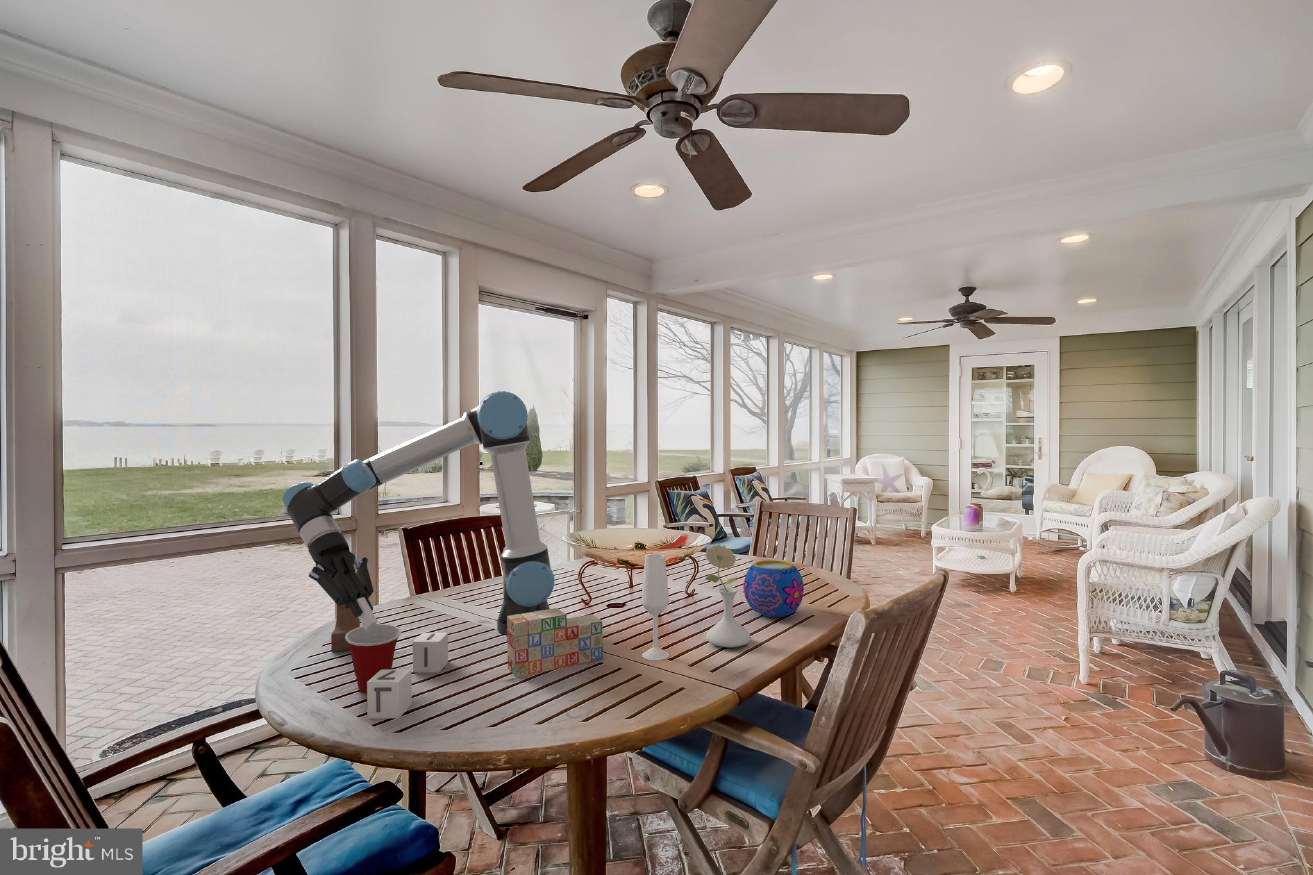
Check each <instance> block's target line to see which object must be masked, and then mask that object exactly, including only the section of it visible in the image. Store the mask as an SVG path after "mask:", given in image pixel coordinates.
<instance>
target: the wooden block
mask: <svg viewBox="0 0 1313 875" xmlns="http://www.w3.org/2000/svg"><path fill="white" fill-rule="evenodd" d="M355 573H356V575H357V576H358V574H357V570H355ZM345 606H346V605H342V606H338V605H337V604H336V619H335V620H336V622H335V625H334V629H333V631H332V633H331V636H330V640H331V641H330V642H331V643H330V645H331V648H330V650H331V652H342V651H343V652H345V651H350V648H349V645H348V642H347V641H346V639H345V637H346V634H347V633H348V632H350V631H351V630H354V629H356V628H358V627H361V621H360V620H359V618H358V617H355V616H354V615H353V613H352V611H351V609H350V608H349V609H347V608H345Z"/></svg>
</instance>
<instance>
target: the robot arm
mask: <svg viewBox="0 0 1313 875" xmlns="http://www.w3.org/2000/svg"><path fill="white" fill-rule="evenodd" d="M528 416H529V414H528V410H527V406H526V404H525V403H524V401H523V400H522V398H520V397H519V396H518V395H516V394H515V393H512V392H510V391H505V390H503V391H495V392H492V393H489V394H488V395H486V396H484V398H483V399H481V401H480V403H479V404H478V405H476V406H475V407H473V408H471V409H469V410H467V411H464V412H463V415H462V417H460V418H458V419H455V420H453V421H451V422H449V423H446V424H444V425H442V426H440V427H438V428H434V429H432V430H429V431H428V432H426V433H423V434H421V435H420V436H417V437H415V438H413V439H410V440H407V441H405V442H403V443H401V444H399V445H396V446H394V447H392V448H390V449H387V450H385V451H383V452H380V453H379V454H375V455H373V456H372V457H369V458H367V459H364V460H361V459H358V458H357V459H354V460H352V461H350V462H348V463H346V464H344V465H342V467H340V468H339V469H337V470H336V471H334V472H333V473H331V474H330V475H329V476H327V477H325V478H324V479H322V480H321V481H319V482H317V483H316V484H315V483H312V482H309V481H302V482H300V483H297V484H293V485H292V486H290V487H288V488H286V490H285V492H284V493H283V495H282V502H283V505H284V507H285V509H286V513H287V515H288V516H289V517H290V519H291V521H292V523H293V525H294V526H295V528H296V530H297V532H298V534H299V535H300V538H301V539H302V541H303V543H304V545H305V547H306V548H307V551H308V553H309V554H310V557H311V559H312V560H313V562H314V564H315V566H312V569H311V570H310V572H309V573H308V577H309V578H310V579H312V580H313V581H315V582H317V584H318V585H319V586H320V587H321V588H322V589H323V591H324V592H325V593H326V594H328V596H329V597H330V599H331V600H332V601H333V602H334V603H335V604H336V606H337V605H338V606H342V605H346V606H345V608H347V609H349V608H350V609H351V611H352V613H353V615H354V616H355V617H358V618H359V620H360V624H361V625H362V627H364V629H365V631H368V630H371V629H373V627H374V626H375V625H376V624H377V623H378V622H379V621H378V620H377V618H376V616H375V614H374V612H373V611H374V607H373V604H372V603H371V601H370V597H371V596H372V594H373V593H374V586H373V583H372V579H371V576H370V572H369V568H368V562H369V559H368V558H367V557H365V556H364V557H362V558H358V557H356V555H355V553H352V551H351V550H350V546H349V543H348V542H347V540H346V538H345V536H344V535H343V533H342V530H341V529H340V527H339V525H338V523H337V522H336V520H335V518H334V517H333V515H332V513H334V512H335V511H337V510H338V509H340V508H341V507H343V506H345V505H346V504H348V503H349V502H351V501H352V500H354V499H355V498H357V497H359V496H361V495H363V494H365V493H367V492H369V491H371V490H374V489H375V488H378V487H380V486H382V485H384V484H386V483H388V482H391V481H393V480H395V479H397V478H400V477H403V476H404V475H407V474H408V473H411V472H413V471H415V470H417V469H420V468H422V467H425V466H427V465H429V464H431V463H433V462H435V461H438V460H440V459H442V458H445V457H446V456H448V455H451V454H453V453H455V452H458V451H461V450H462V449H464V448H467V447H468V446H472V445H473V444H477V445H482V449H483V450H485V451H486V452H487V453H488V454H489V455H490V458H491V459H490V460H491V466H492V470H493V477H494V483H495V488H496V489H495V490H496V495H497V499H498V505H499V511H500V512H499V513H500V517H501V518H500V519H501V524H502V530H503V536H504V542H505V543H504V544H505V547H503V551H502V553H501V557H500V558H501V560H502V561H501V562H502V567H503V568H502V571H503V572H502V573H503V574H502V575H503V576H502V578H503V582H502V583H503V593H502V594H503V601H502V605H501V608H500V611H499V614H498V617H497V621H496V630H497V632H499V633H501V634H504V635H507V629H508V628H507V616H511V615H517V614H524V613H530V612H535V611H541V610H547V609H551V608H550V605H549V602H548V599H549V597H550V596H551V595H552V593H553V591H554V587H555V574H554V573H553V570H552V568H551V567H552V566H551V561H550V556H549V550H548V545H547V544H545V543H544V542H542V541H541V538H540V532H539V525H538V520H537V514H536V508H535V501H534V495H533V490H532V484H531V477H530V470H529V464H528V458H527V453H526V448H527V446H528V445H529V444H530V442H531V440H530V439H531V438H530V434H529V433H530V432H529V427H528V423H527V422H528ZM355 571H357V574H358V576H357V575H356V573H355Z"/></svg>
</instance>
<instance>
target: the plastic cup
mask: <svg viewBox="0 0 1313 875" xmlns="http://www.w3.org/2000/svg"><path fill="white" fill-rule="evenodd" d="M401 634H402V629H401V628H399V626H396V625H393V624H386V623H385V624H384V623H378V624H377V623H376V625H375V626H374V627H373V629H371V630H368V631H365V629H364V627H363V626H360V627H358V628H356V629H354V630H351V631H350V632H348V633H347V634H346V637H345V639H346V641H347V642H348V645H349V648H350V650H349V652H350V656H351V660H352V666H353V672H354V676H355V679H356V683H357V688H358V690H359V692H360V693H364V694H367V682H368V681H369V680H370V679H371V678H372V677H373V676H375V675H376V674H377V673H378V672H379V671H380V670H392V669H393V663H394V658H395V657H394V656H395V653H396V652H395V651H396V646H397V642H398V640H399V638H400V636H401Z"/></svg>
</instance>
